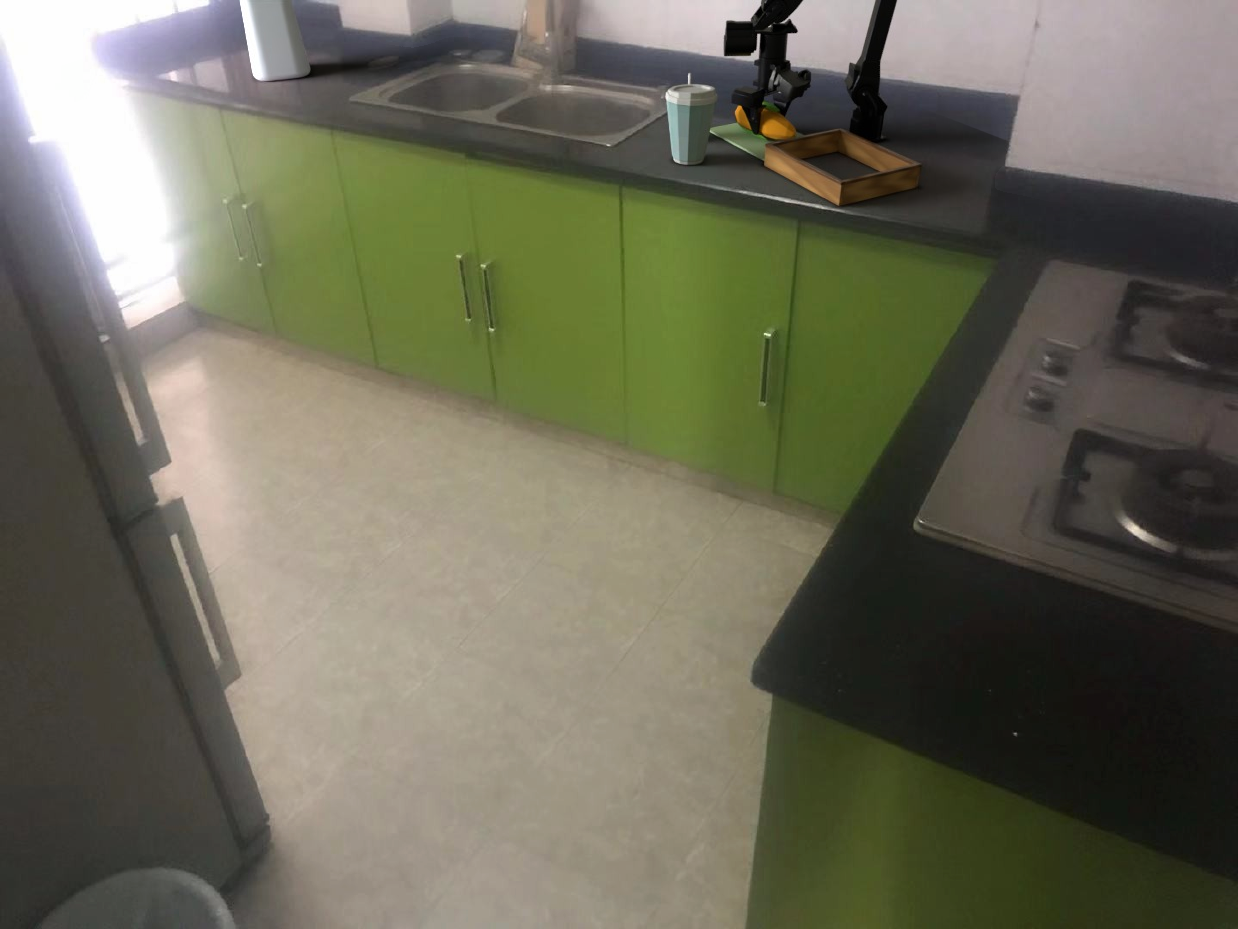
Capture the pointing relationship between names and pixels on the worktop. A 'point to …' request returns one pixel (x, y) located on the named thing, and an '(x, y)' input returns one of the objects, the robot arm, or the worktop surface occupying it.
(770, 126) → the corn
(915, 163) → the wooden tray
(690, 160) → the disposable coffee cup
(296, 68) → the plastic bottle
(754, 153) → the mat
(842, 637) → the worktop surface
